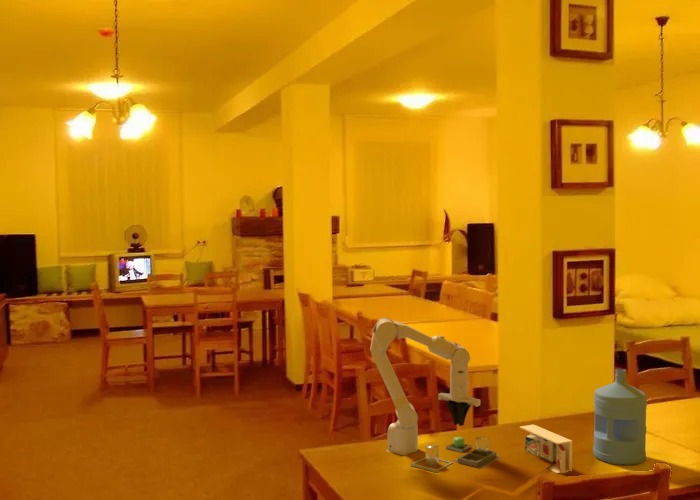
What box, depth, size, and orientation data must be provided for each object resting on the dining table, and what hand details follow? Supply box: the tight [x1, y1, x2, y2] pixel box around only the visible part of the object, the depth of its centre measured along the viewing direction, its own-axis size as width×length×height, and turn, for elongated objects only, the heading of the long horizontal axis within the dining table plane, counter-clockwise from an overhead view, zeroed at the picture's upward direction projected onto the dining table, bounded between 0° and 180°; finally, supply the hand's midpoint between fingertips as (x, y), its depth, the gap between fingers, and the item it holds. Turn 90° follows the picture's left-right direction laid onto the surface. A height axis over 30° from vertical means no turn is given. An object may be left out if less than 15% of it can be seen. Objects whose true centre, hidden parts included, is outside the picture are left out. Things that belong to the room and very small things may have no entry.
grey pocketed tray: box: [452, 448, 502, 469], centre depth 230 cm, size 10×13×3 cm
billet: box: [424, 443, 440, 467], centre depth 226 cm, size 4×4×6 cm
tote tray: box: [410, 457, 454, 474], centre depth 226 cm, size 9×9×1 cm
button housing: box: [445, 442, 473, 453], centre depth 241 cm, size 6×6×2 cm
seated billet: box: [475, 435, 490, 456], centre depth 232 cm, size 4×4×6 cm
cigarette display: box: [519, 424, 573, 474], centre depth 229 cm, size 20×6×9 cm, turn 23°
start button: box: [452, 436, 465, 449], centre depth 241 cm, size 4×4×3 cm
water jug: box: [592, 368, 648, 466], centre depth 234 cm, size 16×16×28 cm
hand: (458, 424), depth 240 cm, fingers closed
